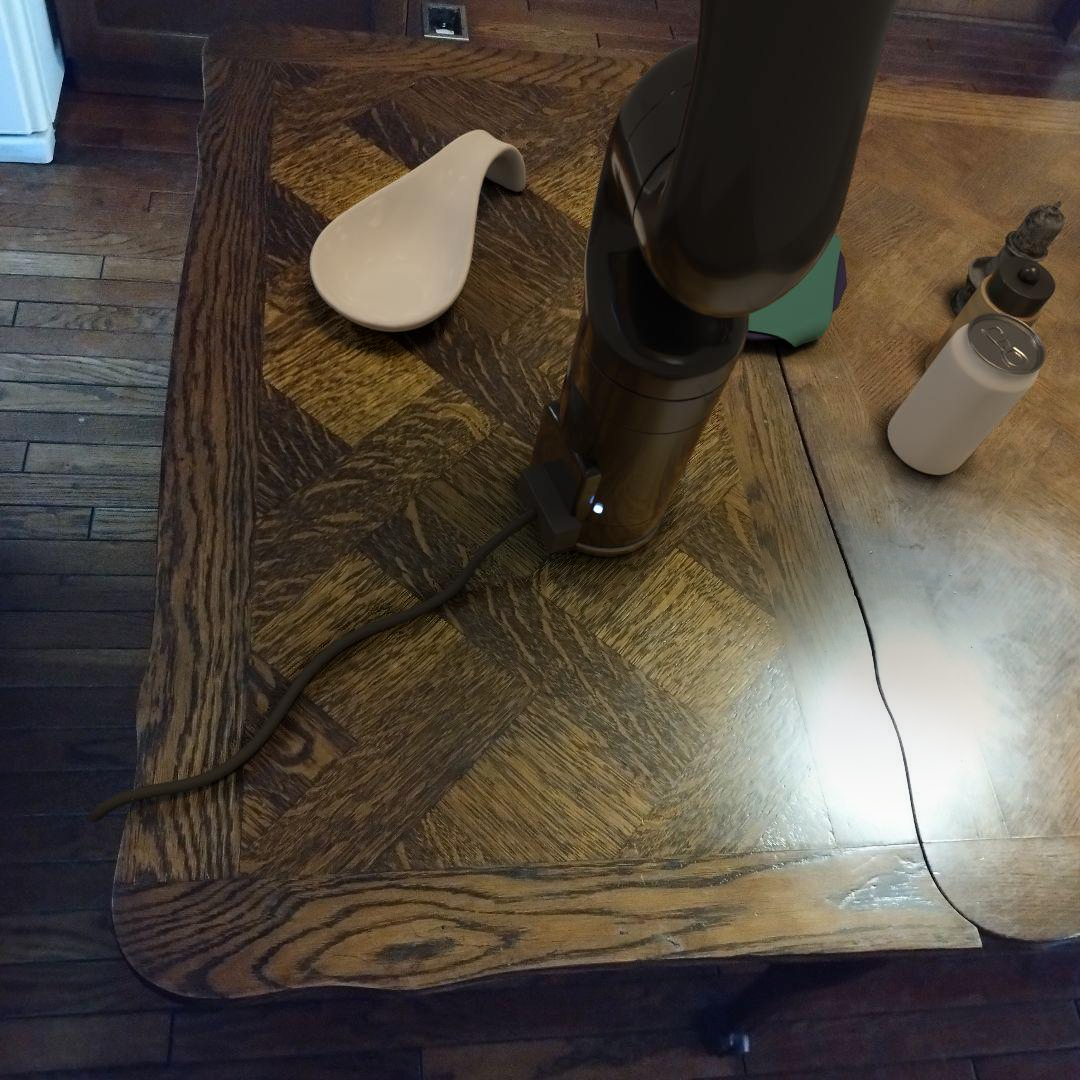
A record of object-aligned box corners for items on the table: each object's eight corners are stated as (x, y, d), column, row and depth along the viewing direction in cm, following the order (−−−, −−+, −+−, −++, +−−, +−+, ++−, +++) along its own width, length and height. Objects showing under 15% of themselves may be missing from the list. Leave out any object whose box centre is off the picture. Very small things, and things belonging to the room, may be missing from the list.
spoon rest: (411, 378, 74) (415, 311, 68) (281, 309, 76) (273, 237, 69) (558, 207, 86) (572, 137, 80) (443, 150, 88) (448, 77, 82)
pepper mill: (947, 402, 81) (1032, 297, 71) (913, 357, 83) (990, 249, 73) (993, 388, 83) (1082, 283, 72) (958, 344, 85) (1039, 236, 75)
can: (914, 486, 76) (999, 387, 66) (869, 422, 79) (944, 317, 68) (978, 466, 78) (1070, 366, 68) (932, 404, 81) (1014, 299, 71)
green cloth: (593, 312, 80) (598, 291, 78) (661, 100, 96) (667, 79, 94) (826, 383, 80) (838, 364, 78) (857, 159, 96) (867, 139, 94)
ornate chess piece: (1013, 341, 86) (1099, 235, 76) (948, 324, 86) (1026, 215, 76) (1009, 294, 89) (1092, 187, 79) (947, 278, 89) (1022, 168, 79)
